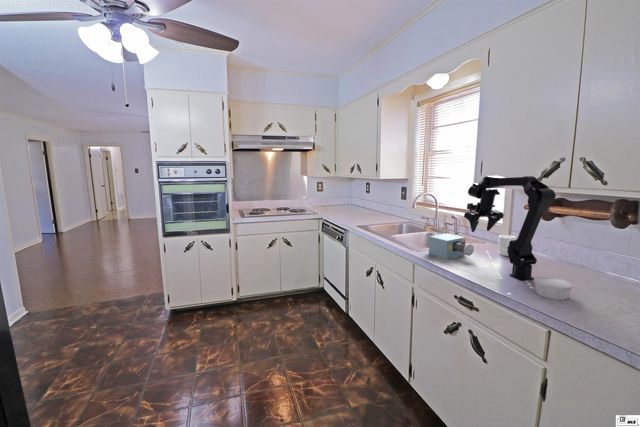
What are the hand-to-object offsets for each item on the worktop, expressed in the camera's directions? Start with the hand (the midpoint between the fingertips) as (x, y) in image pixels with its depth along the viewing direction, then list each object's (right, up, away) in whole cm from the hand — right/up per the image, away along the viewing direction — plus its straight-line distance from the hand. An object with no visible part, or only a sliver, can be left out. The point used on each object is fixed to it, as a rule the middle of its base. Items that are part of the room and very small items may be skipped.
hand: (480, 231), depth 146 cm
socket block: (-11, -14, +15) cm, 23 cm away
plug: (-8, -12, +8) cm, 16 cm away
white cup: (+21, -14, +12) cm, 28 cm away
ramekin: (+6, -22, -38) cm, 44 cm away
